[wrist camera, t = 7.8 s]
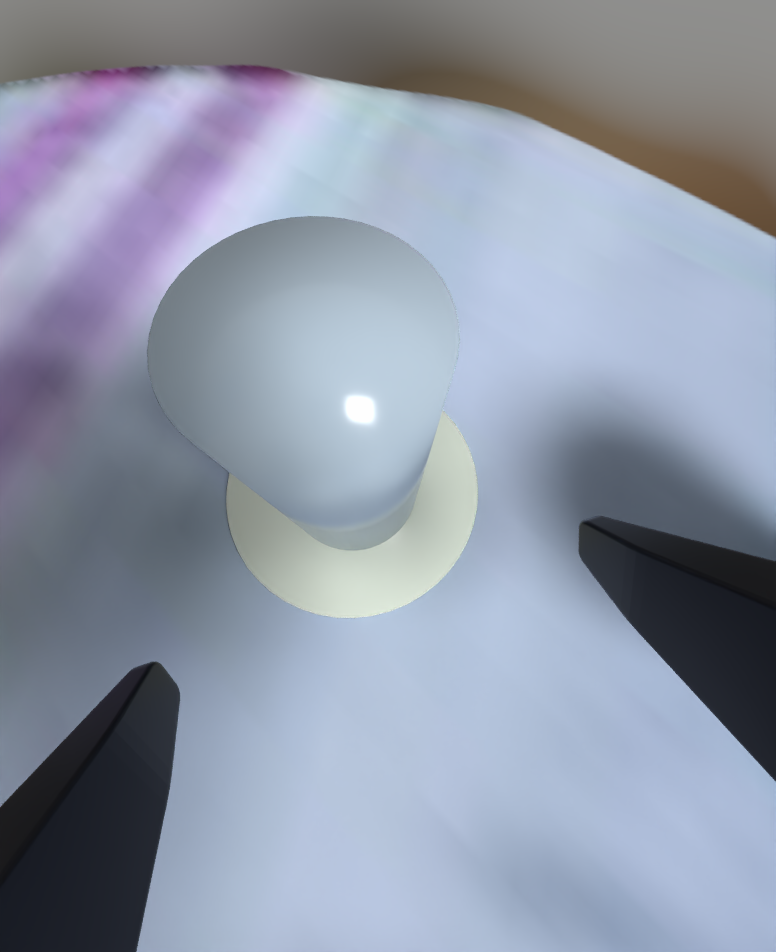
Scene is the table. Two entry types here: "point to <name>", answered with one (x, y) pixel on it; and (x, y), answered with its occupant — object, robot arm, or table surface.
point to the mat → (370, 570)
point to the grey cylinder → (311, 369)
